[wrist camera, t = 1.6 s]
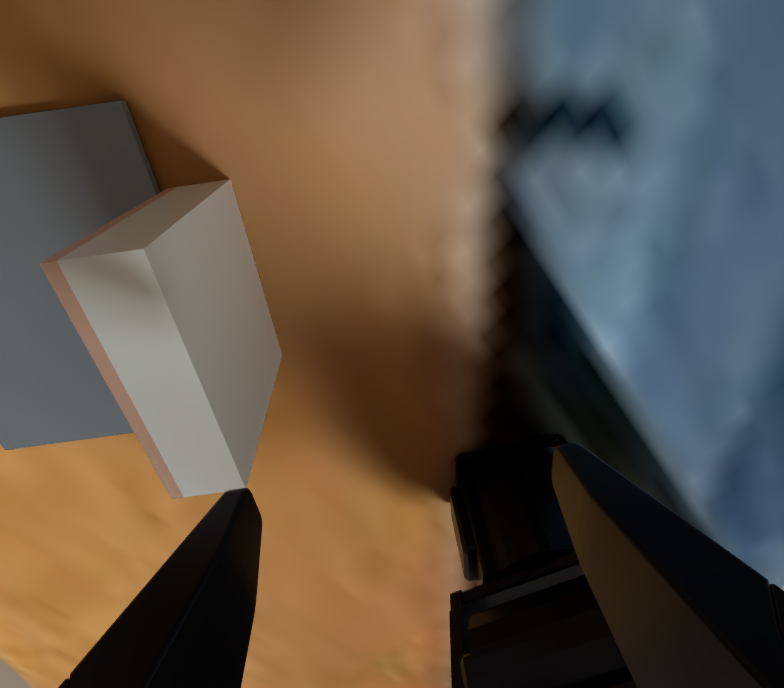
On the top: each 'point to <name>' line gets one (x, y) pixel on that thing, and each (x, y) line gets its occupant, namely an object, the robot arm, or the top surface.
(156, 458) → the tile
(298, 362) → the top surface
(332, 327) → the top surface
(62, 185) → the mat
